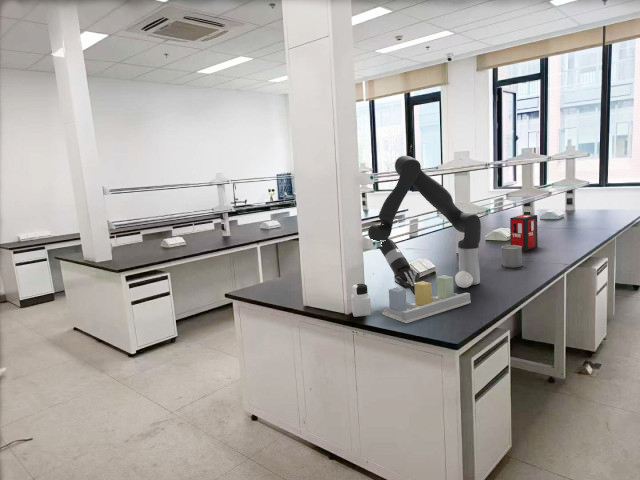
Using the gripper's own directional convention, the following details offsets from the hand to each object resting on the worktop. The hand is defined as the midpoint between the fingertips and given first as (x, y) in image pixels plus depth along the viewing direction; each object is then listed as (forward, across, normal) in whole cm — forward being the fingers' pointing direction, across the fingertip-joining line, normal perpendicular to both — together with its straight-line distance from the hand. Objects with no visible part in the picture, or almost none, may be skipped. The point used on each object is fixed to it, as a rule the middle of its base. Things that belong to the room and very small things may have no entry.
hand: (418, 294), depth 187 cm
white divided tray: (+7, 0, 0) cm, 7 cm away
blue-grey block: (+4, -13, +1) cm, 14 cm away
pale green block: (+4, +13, +1) cm, 14 cm away
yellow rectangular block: (+5, 0, 0) cm, 5 cm away
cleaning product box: (-24, +124, +32) cm, 130 cm away
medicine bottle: (-3, -23, +10) cm, 25 cm away
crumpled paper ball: (0, +33, +8) cm, 34 cm away
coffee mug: (-9, +84, +16) cm, 86 cm away
